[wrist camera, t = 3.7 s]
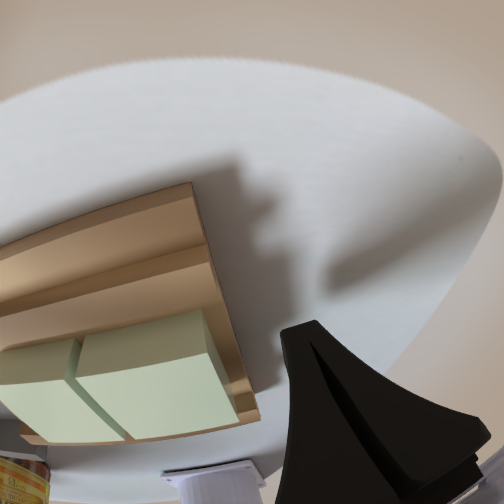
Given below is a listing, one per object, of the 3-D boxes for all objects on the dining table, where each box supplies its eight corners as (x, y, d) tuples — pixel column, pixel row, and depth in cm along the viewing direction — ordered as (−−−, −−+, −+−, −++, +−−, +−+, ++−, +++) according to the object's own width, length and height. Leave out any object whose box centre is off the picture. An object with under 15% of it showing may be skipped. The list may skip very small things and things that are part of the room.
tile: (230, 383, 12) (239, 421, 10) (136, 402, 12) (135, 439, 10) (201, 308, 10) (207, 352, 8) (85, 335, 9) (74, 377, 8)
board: (254, 395, 15) (265, 432, 13) (51, 424, 14) (46, 455, 12) (191, 181, 9) (194, 209, 7) (-66, 280, 8) (-90, 310, 6)
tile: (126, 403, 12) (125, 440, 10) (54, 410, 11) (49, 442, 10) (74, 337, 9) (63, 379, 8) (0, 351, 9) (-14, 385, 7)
